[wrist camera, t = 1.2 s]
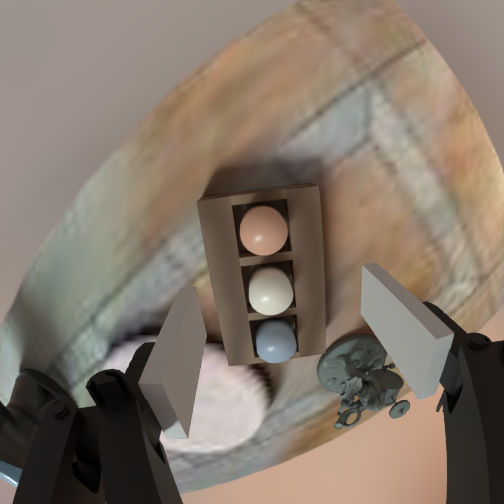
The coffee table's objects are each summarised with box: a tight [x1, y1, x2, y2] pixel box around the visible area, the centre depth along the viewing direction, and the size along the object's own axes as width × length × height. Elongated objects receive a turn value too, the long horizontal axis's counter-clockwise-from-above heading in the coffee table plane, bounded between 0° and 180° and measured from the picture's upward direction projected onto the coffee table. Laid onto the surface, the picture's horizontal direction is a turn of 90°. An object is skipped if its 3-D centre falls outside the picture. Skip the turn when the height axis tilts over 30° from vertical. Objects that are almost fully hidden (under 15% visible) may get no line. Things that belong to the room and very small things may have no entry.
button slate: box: [256, 317, 297, 363], centre depth 32 cm, size 4×4×3 cm
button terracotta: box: [240, 204, 288, 255], centre depth 28 cm, size 4×4×3 cm
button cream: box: [249, 265, 293, 315], centre depth 30 cm, size 4×4×3 cm
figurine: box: [317, 334, 410, 429], centre depth 33 cm, size 11×11×12 cm
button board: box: [197, 184, 326, 366], centre depth 32 cm, size 12×20×4 cm, turn 7°
